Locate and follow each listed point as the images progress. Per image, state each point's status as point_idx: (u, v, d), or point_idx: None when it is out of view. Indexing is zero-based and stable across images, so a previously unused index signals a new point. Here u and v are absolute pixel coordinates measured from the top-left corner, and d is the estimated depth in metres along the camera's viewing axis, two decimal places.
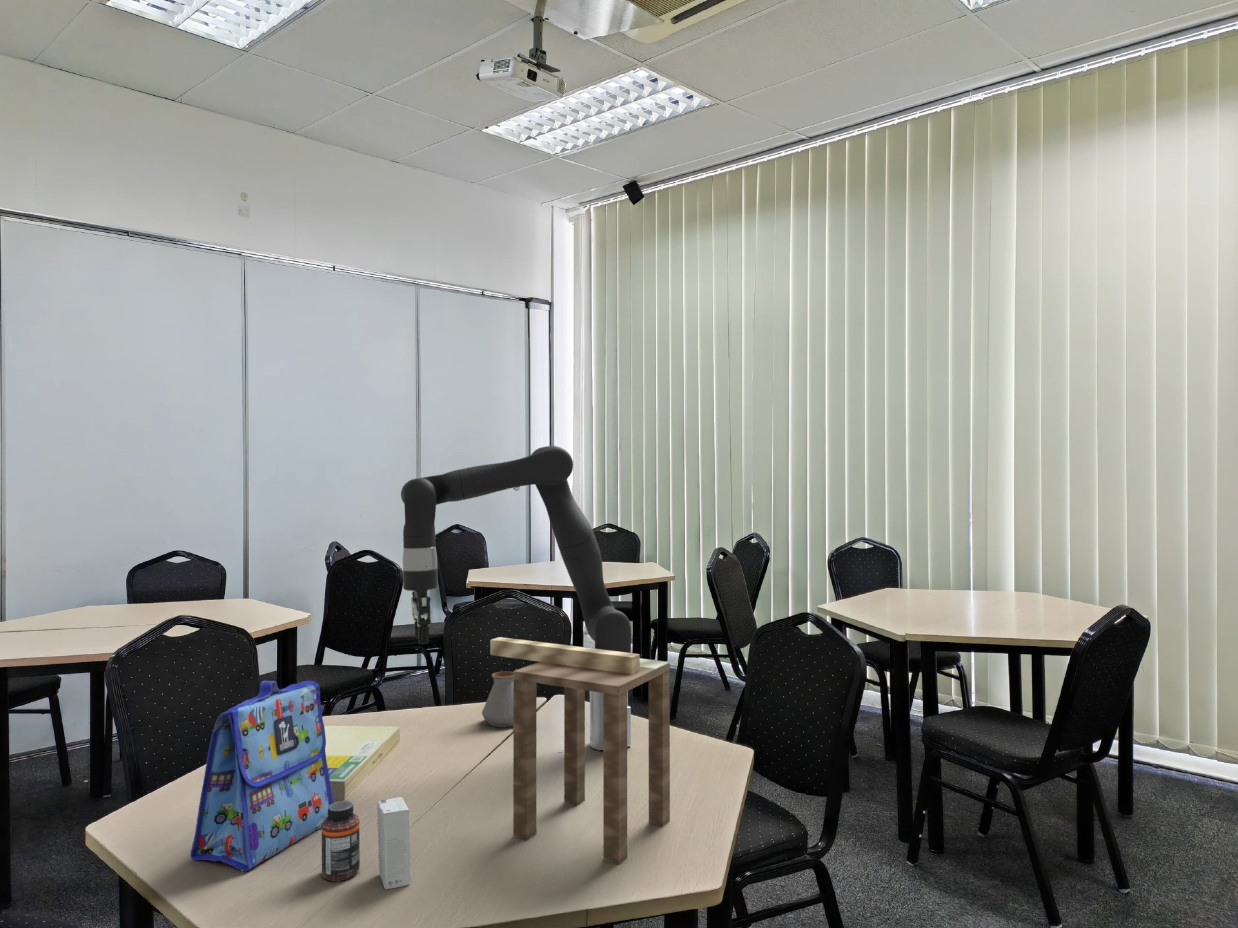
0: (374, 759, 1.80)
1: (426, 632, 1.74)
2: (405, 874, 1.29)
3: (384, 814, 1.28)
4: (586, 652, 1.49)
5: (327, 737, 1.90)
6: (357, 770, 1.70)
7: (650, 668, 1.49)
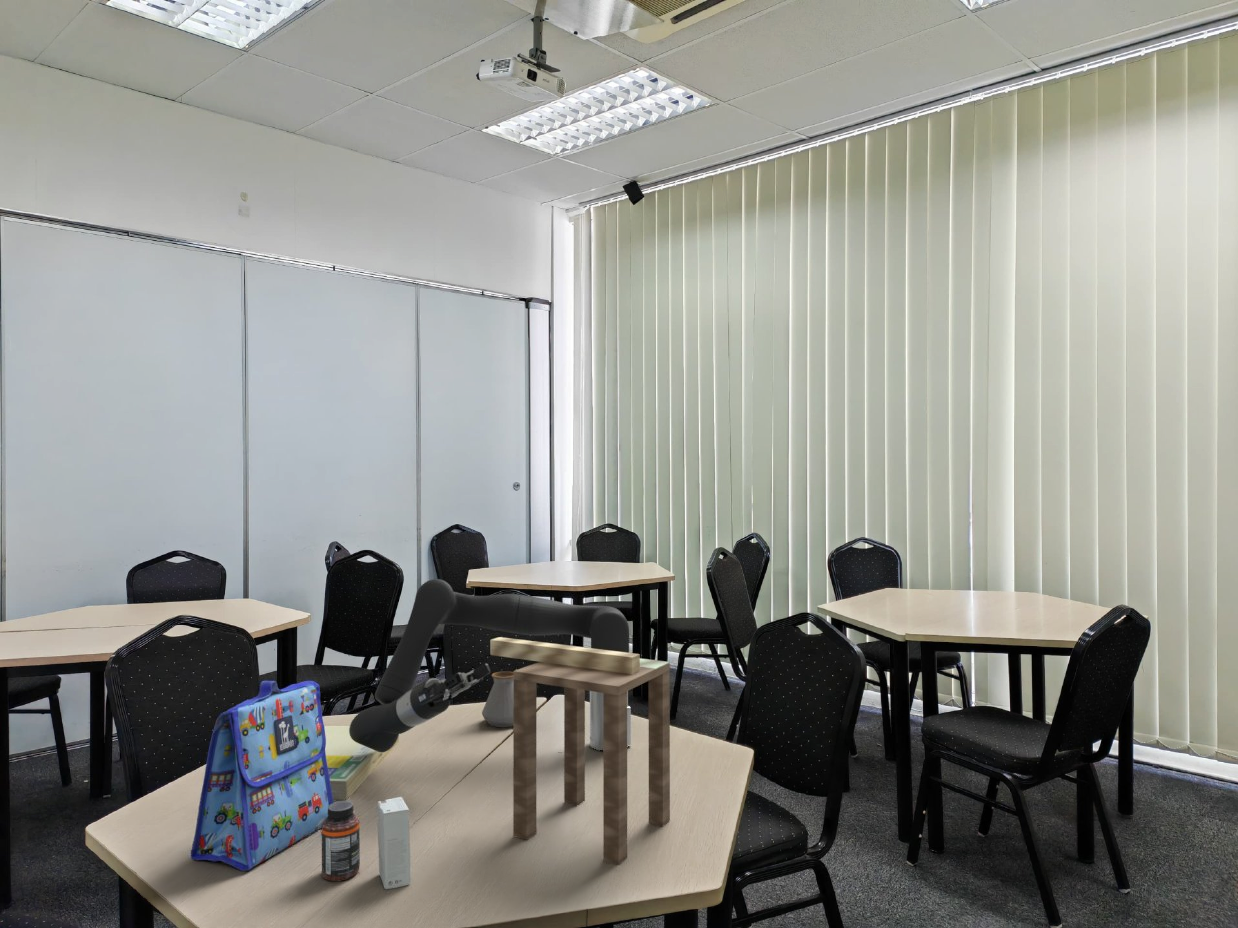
0: (375, 758, 1.80)
1: (448, 680, 1.60)
2: (405, 874, 1.29)
3: (384, 814, 1.28)
4: (586, 652, 1.49)
5: (326, 737, 1.90)
6: (358, 770, 1.70)
7: (650, 668, 1.49)
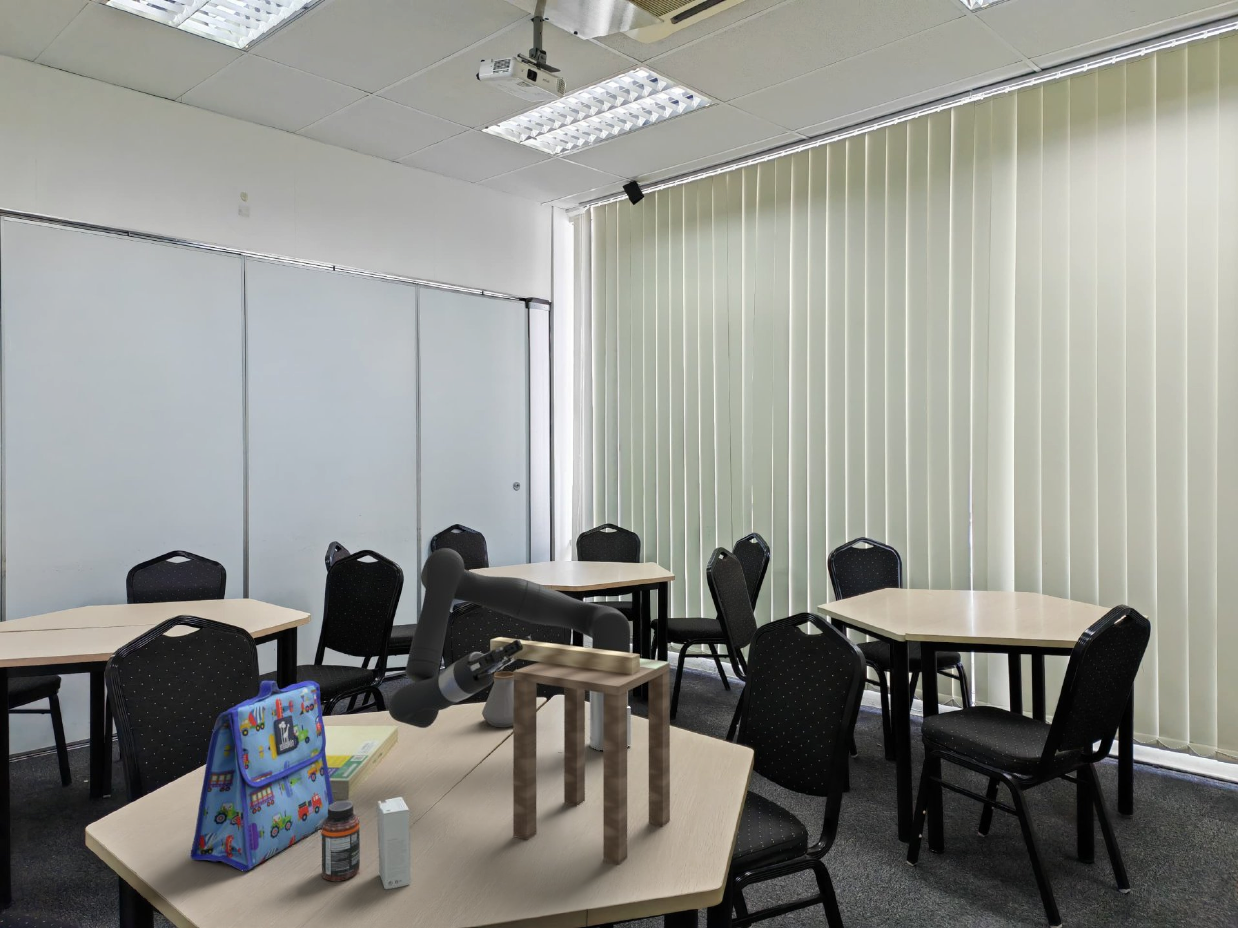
0: (375, 758, 1.81)
1: (506, 648, 1.56)
2: (405, 874, 1.29)
3: (384, 814, 1.28)
4: (586, 652, 1.49)
5: (326, 737, 1.90)
6: (360, 769, 1.70)
7: (650, 668, 1.49)
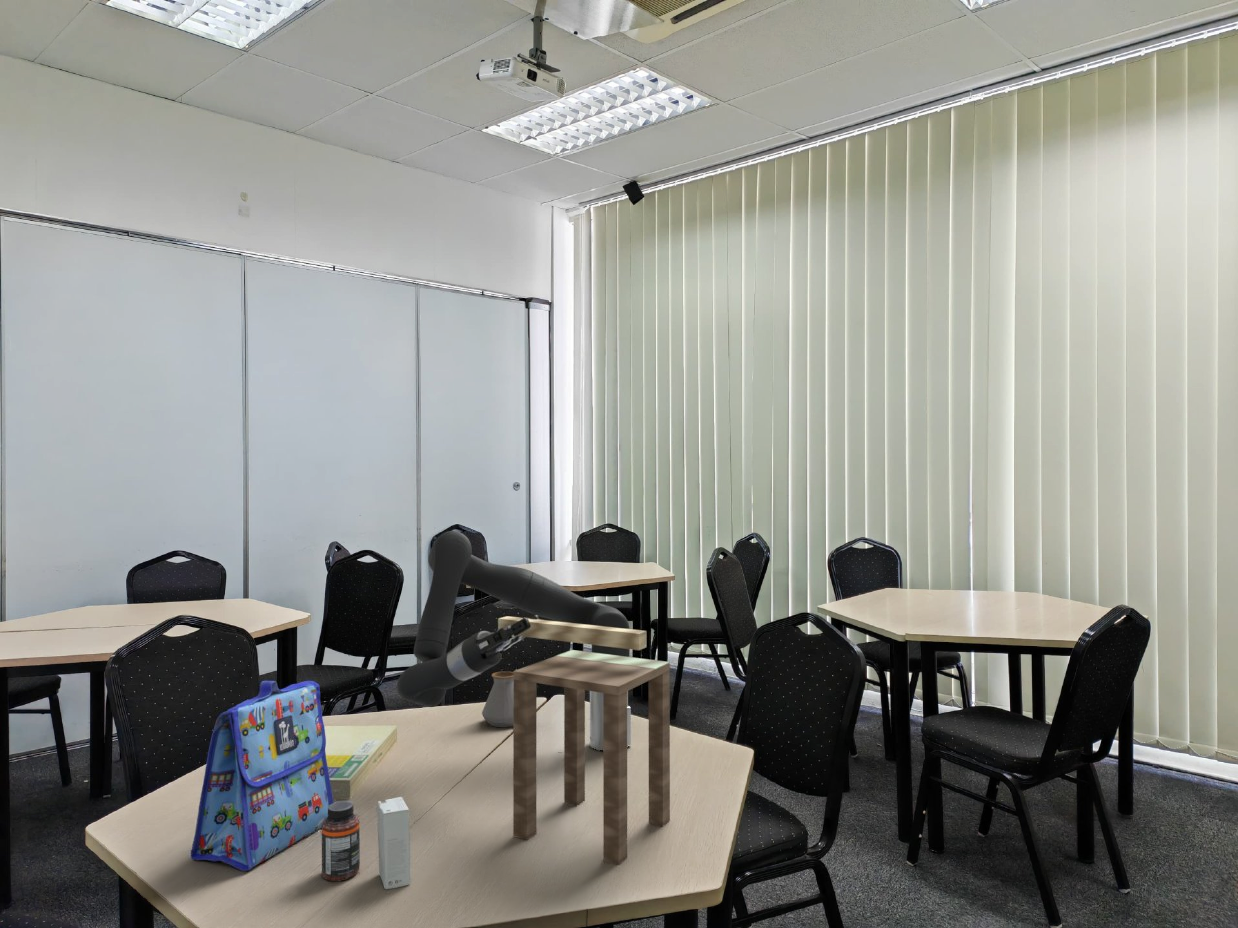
0: (376, 757, 1.81)
1: (514, 626, 1.58)
2: (405, 874, 1.29)
3: (384, 814, 1.28)
4: (593, 629, 1.51)
5: None
6: (361, 769, 1.70)
7: (650, 668, 1.49)
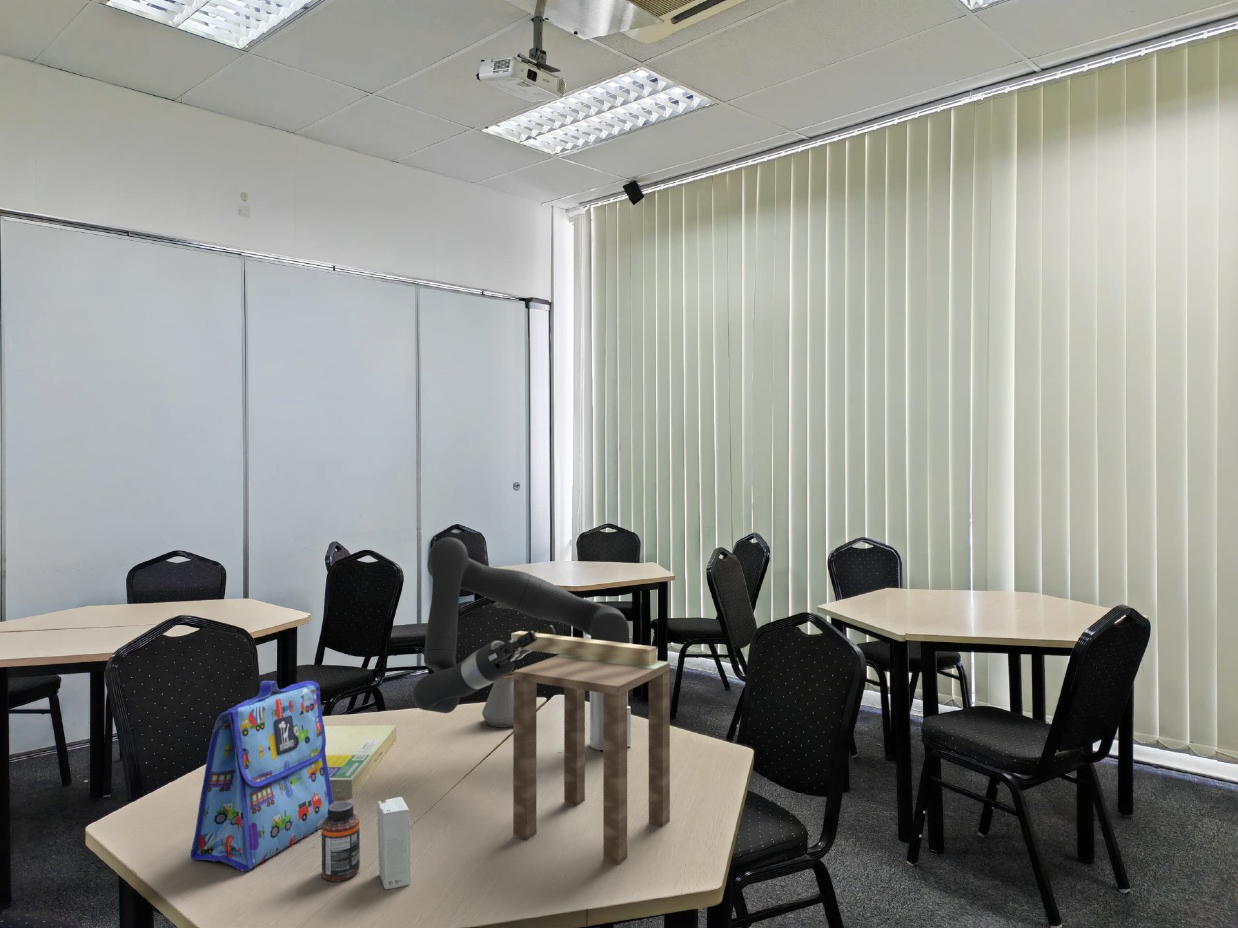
0: (376, 757, 1.81)
1: (521, 639, 1.61)
2: (405, 874, 1.29)
3: (384, 814, 1.28)
4: (605, 645, 1.55)
5: None
6: (362, 768, 1.71)
7: (650, 668, 1.49)
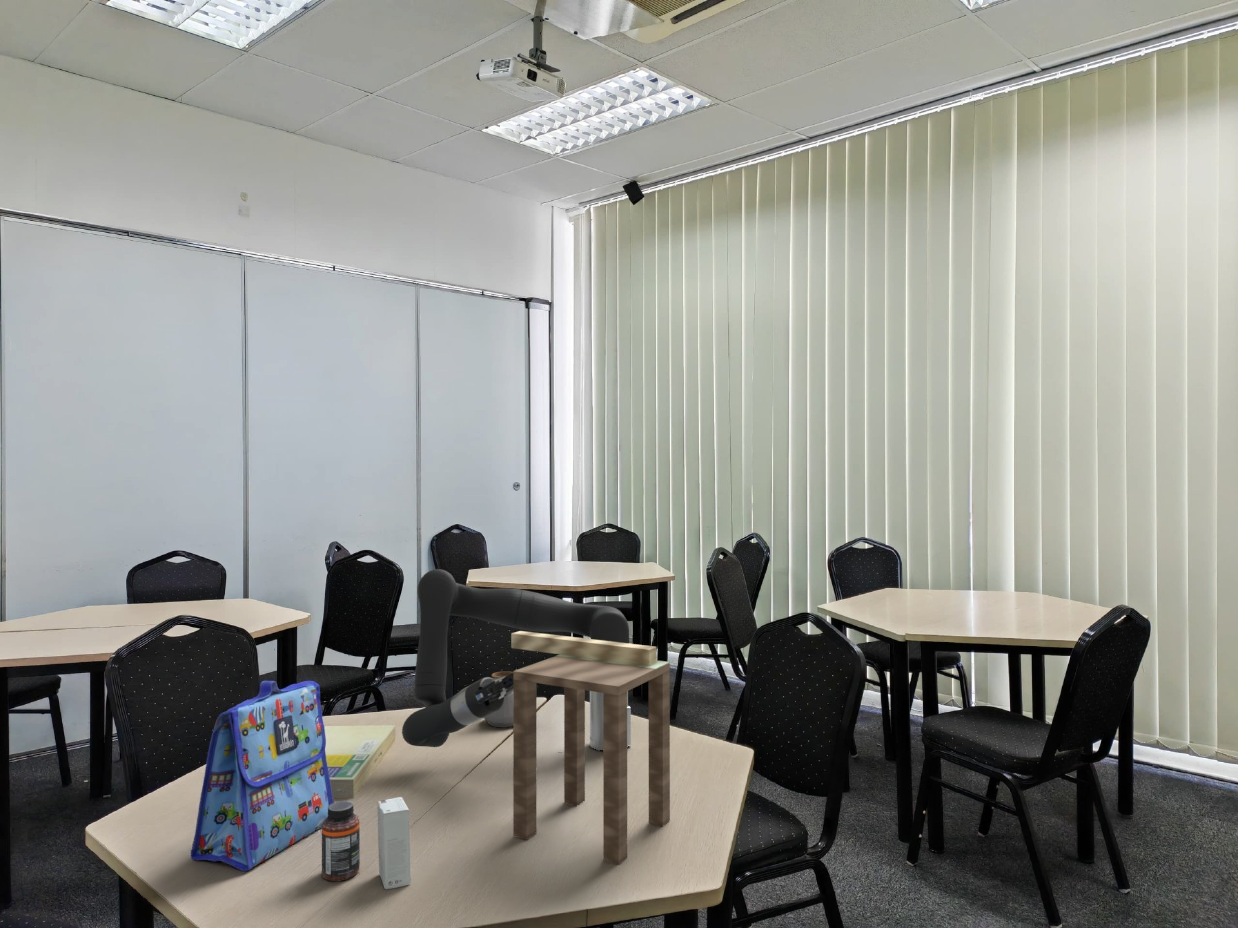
0: (376, 757, 1.81)
1: (505, 679, 1.62)
2: (405, 874, 1.29)
3: (384, 814, 1.28)
4: (605, 645, 1.55)
5: None
6: (363, 768, 1.71)
7: (650, 668, 1.49)
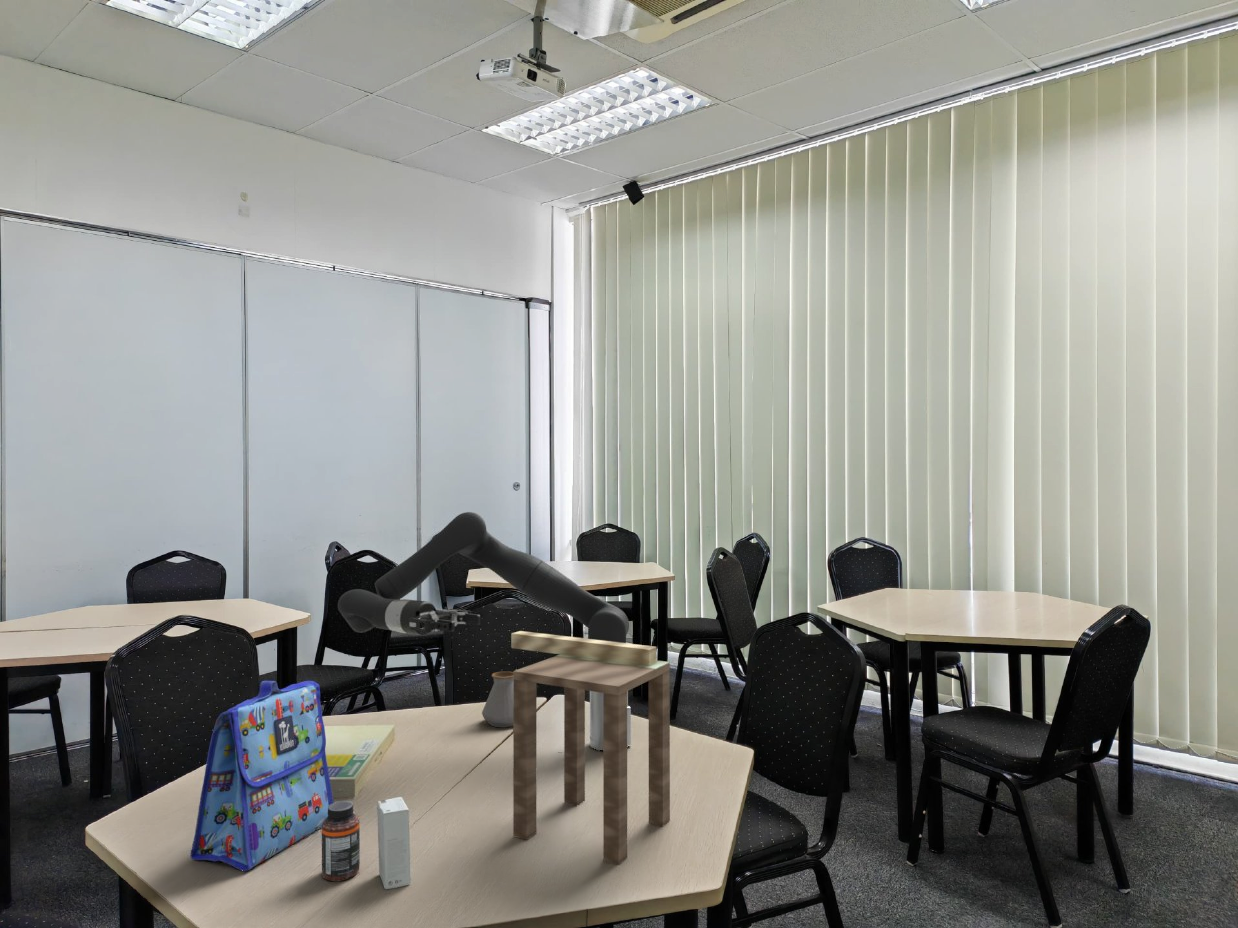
0: (376, 756, 1.82)
1: (440, 623, 1.70)
2: (405, 874, 1.29)
3: (384, 814, 1.28)
4: (605, 645, 1.55)
5: None
6: (364, 768, 1.71)
7: (650, 668, 1.49)
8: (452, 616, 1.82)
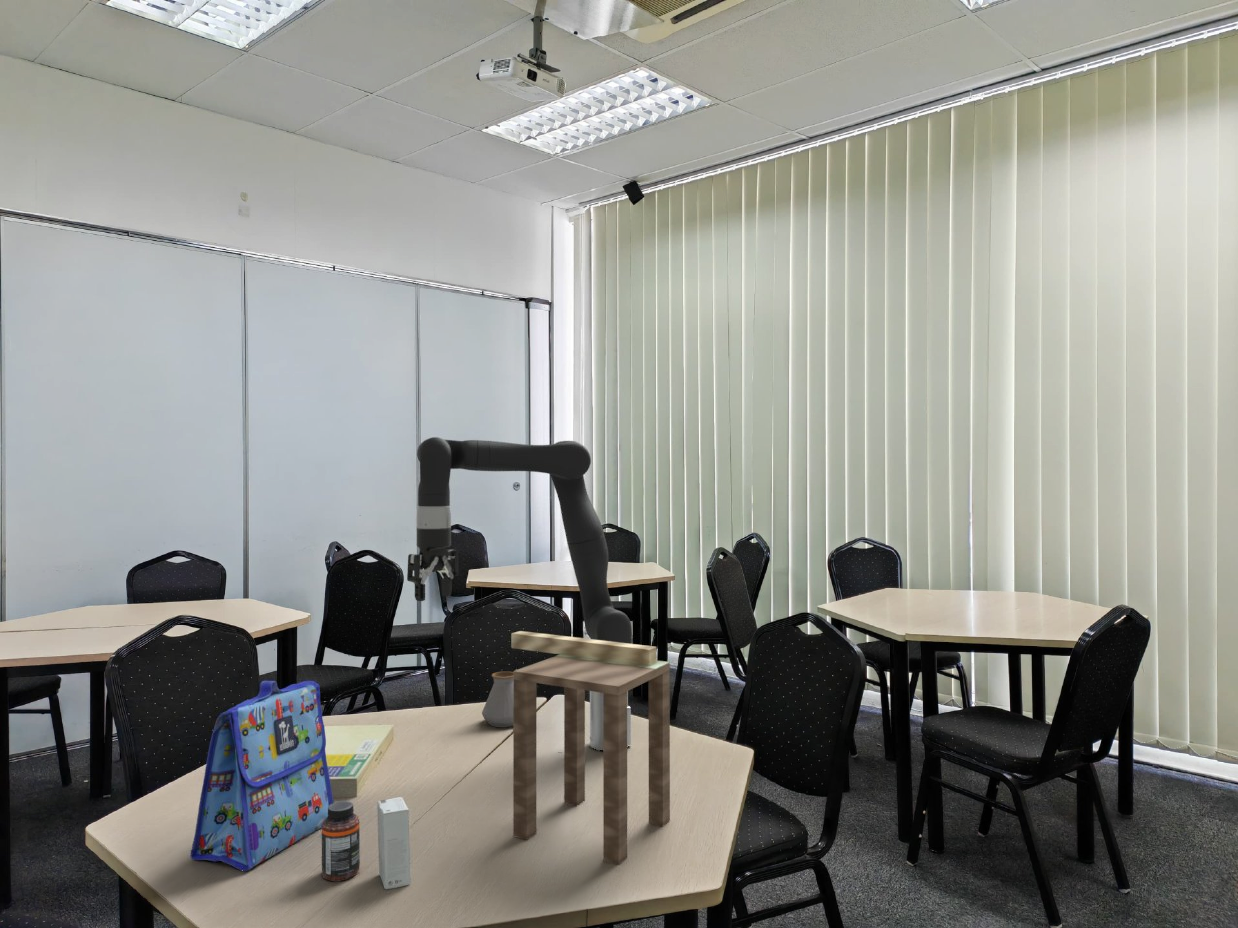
0: (377, 756, 1.82)
1: (418, 589, 1.76)
2: (405, 874, 1.29)
3: (384, 814, 1.28)
4: (605, 645, 1.55)
5: None
6: (365, 767, 1.71)
7: (650, 668, 1.49)
8: (448, 558, 1.85)
